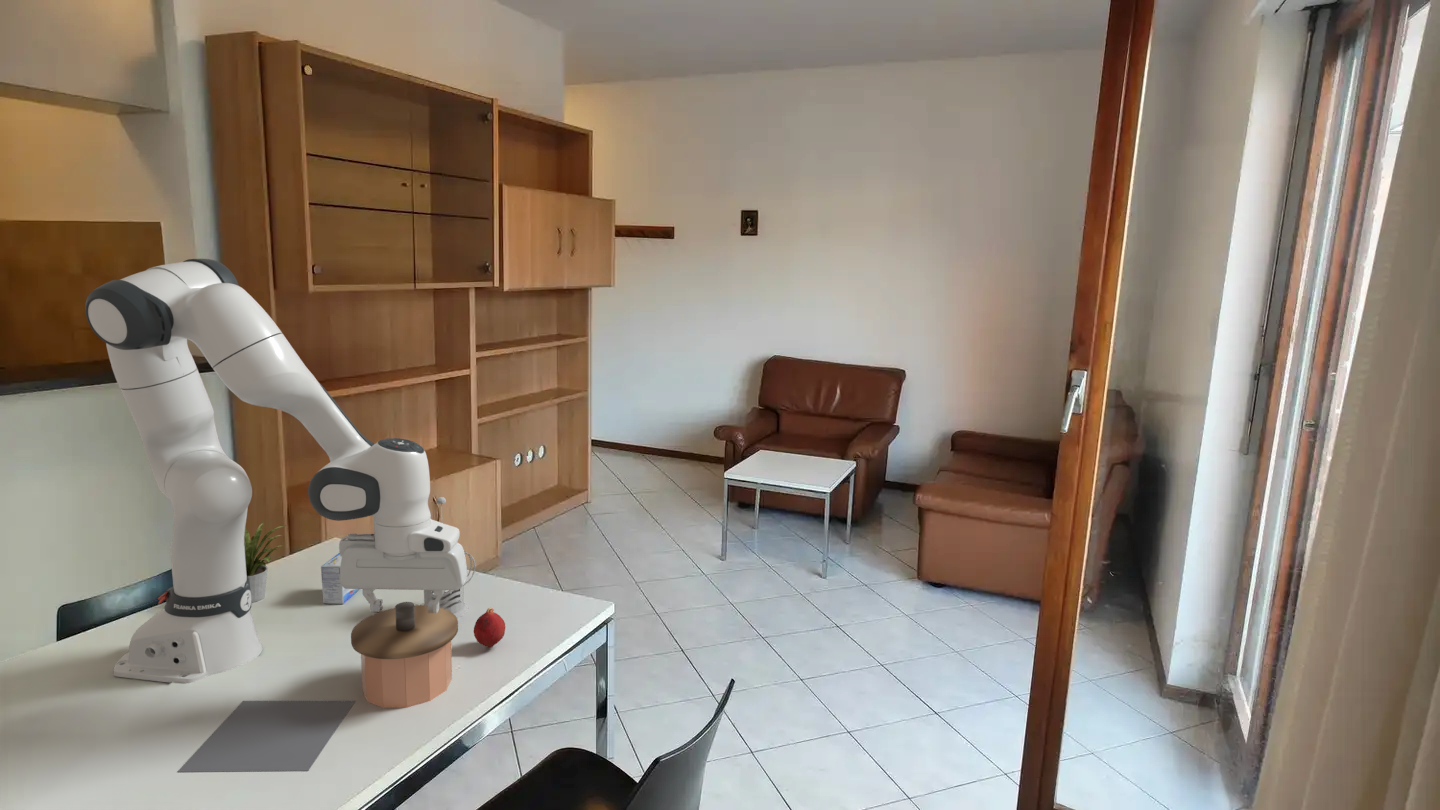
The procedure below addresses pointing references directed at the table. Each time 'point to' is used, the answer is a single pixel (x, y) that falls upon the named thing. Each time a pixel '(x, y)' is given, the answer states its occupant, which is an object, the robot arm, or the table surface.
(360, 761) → the table surface
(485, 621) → the red pomegranate
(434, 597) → the french press
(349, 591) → the medicine box
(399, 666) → the flower pot
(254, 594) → the house plant
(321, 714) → the mat
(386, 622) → the lid
